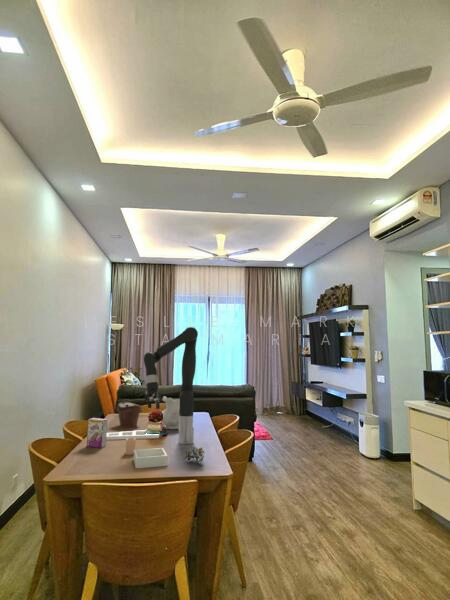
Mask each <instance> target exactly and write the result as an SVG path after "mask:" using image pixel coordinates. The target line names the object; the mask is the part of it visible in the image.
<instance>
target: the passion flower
mask: <svg viewBox="0 0 450 600" xmlns="http://www.w3.org/2000/svg"><path fill="white" fill-rule="evenodd" d="M190 447H191V450H189V451H187V450H185V451H184V453H185V455H186V456H185V457H184V458H183V461H185V460H186V459H187V460H186V464H188V463H189V462H190V461H191V459H193V460H194V459H195V461H196V462H197V464H198V465H199V466H203V462H204V460H205V459H204V458H205V450H203V447H198V446H195V445H191V444H190Z"/></svg>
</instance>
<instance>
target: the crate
mask: <svg viewBox="0 0 450 600" xmlns="http://www.w3.org/2000/svg"><path fill="white" fill-rule="evenodd" d="M168 458H169V456H168V454H167V452H166V451H165V448H163V447H158V448H155V447H154V448H141V449H135V450H134V454H133V462H134V466H135V469H145V468H157V467H168Z"/></svg>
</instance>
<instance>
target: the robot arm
mask: <svg viewBox="0 0 450 600" xmlns="http://www.w3.org/2000/svg"><path fill="white" fill-rule="evenodd" d="M198 335H199V331H198V330H197V329H196V327H193V326H189V327H186V329H184V330H183V331H182V332H181V333H180V334H178V335H177V336H176V337H174V338H172V339H170V340H169V341H167V342H165V343H163V344H162V345H161V346H159V347H157V348H156V351H154V352H151V351H147V352H146V353H145V354H144V356H143V363H144V364H143V365H144V368H145V376H146V377H145V382H146V383H145V384H146V385H145V386H146V390H145V391H144V401H145V402H146V403H147V409H152V408H153V407H152V400H153V402H155V409H156V410H159V409H160V406H161V405H160V403H161V402H162V393H161V392H158V390H159V377H158V372H157V371H158V370H157V366H156V363H158V362H159V361H161V360H162V359H163V358H164V357H166V356H167V355H169V354H170V353H172V352H173V351H175V350H176V349H177V348H178V347H180V346H182V345H184V349H183V355H182V359H181V360H182V361H181V363H182V364H181V389H180V393H179V399H180V409H179V429H178V444H181V445H191V444H194V439H195V438H194V437H195V436H194V435H195V434H194V433H195V432H194V430H195V428H194V409H195V408H194V407H195V406H194V405H195V403H194V402H195V396H194V391H193V390H194V378H195V374H196V365H197V352H196V346H197V340H198Z"/></svg>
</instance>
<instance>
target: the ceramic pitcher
mask: <svg viewBox="0 0 450 600" xmlns="http://www.w3.org/2000/svg"><path fill="white" fill-rule="evenodd" d="M162 401H163V402H165V406H166V407H165V408H164V410H162V411H161V412H162V413H163V423H162V424H163V425H165V427H164V430H166V429H169V430H179V409H180V398H172V397H167V396H166V395H164V396H162Z"/></svg>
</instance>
